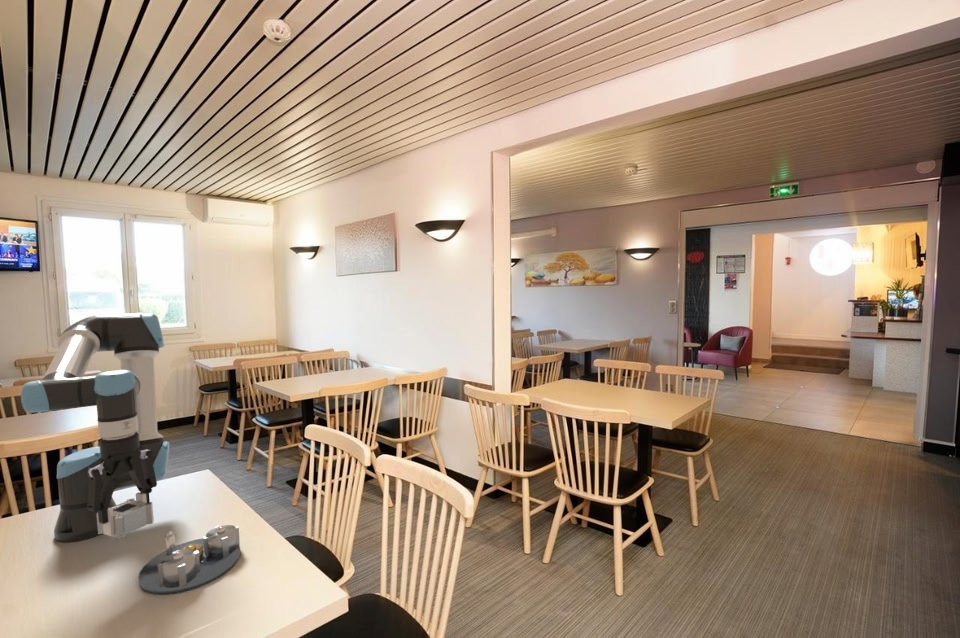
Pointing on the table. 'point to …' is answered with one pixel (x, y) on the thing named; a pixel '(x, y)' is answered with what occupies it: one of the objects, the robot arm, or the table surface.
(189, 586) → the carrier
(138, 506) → the grey square frame
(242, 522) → the table surface
